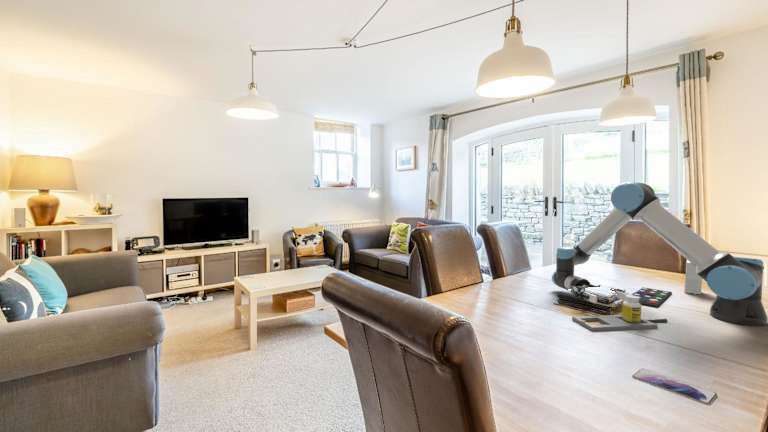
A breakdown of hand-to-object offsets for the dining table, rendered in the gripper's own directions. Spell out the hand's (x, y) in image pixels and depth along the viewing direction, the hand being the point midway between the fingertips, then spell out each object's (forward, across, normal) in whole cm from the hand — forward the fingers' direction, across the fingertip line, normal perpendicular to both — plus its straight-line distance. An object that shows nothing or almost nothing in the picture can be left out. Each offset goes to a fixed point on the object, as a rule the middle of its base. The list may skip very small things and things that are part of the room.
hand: (612, 299), depth 136 cm
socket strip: (+9, +3, -6) cm, 11 cm away
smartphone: (+50, +23, -7) cm, 55 cm away
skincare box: (-25, -60, -6) cm, 65 cm away
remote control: (-19, -33, -7) cm, 39 cm away
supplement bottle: (+9, 0, -6) cm, 11 cm away
